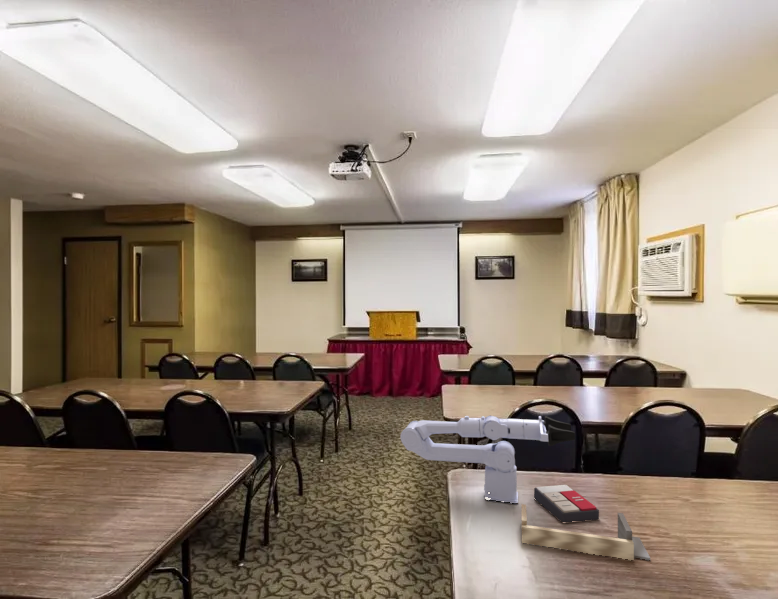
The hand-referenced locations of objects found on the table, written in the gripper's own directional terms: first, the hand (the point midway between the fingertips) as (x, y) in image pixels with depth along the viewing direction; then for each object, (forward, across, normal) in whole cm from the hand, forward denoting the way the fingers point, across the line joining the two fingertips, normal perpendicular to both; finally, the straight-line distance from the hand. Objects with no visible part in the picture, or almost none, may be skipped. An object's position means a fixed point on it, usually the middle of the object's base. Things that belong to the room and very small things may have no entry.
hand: (572, 431), depth 122 cm
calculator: (-3, -3, +22) cm, 22 cm away
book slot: (-1, -20, +21) cm, 29 cm away
